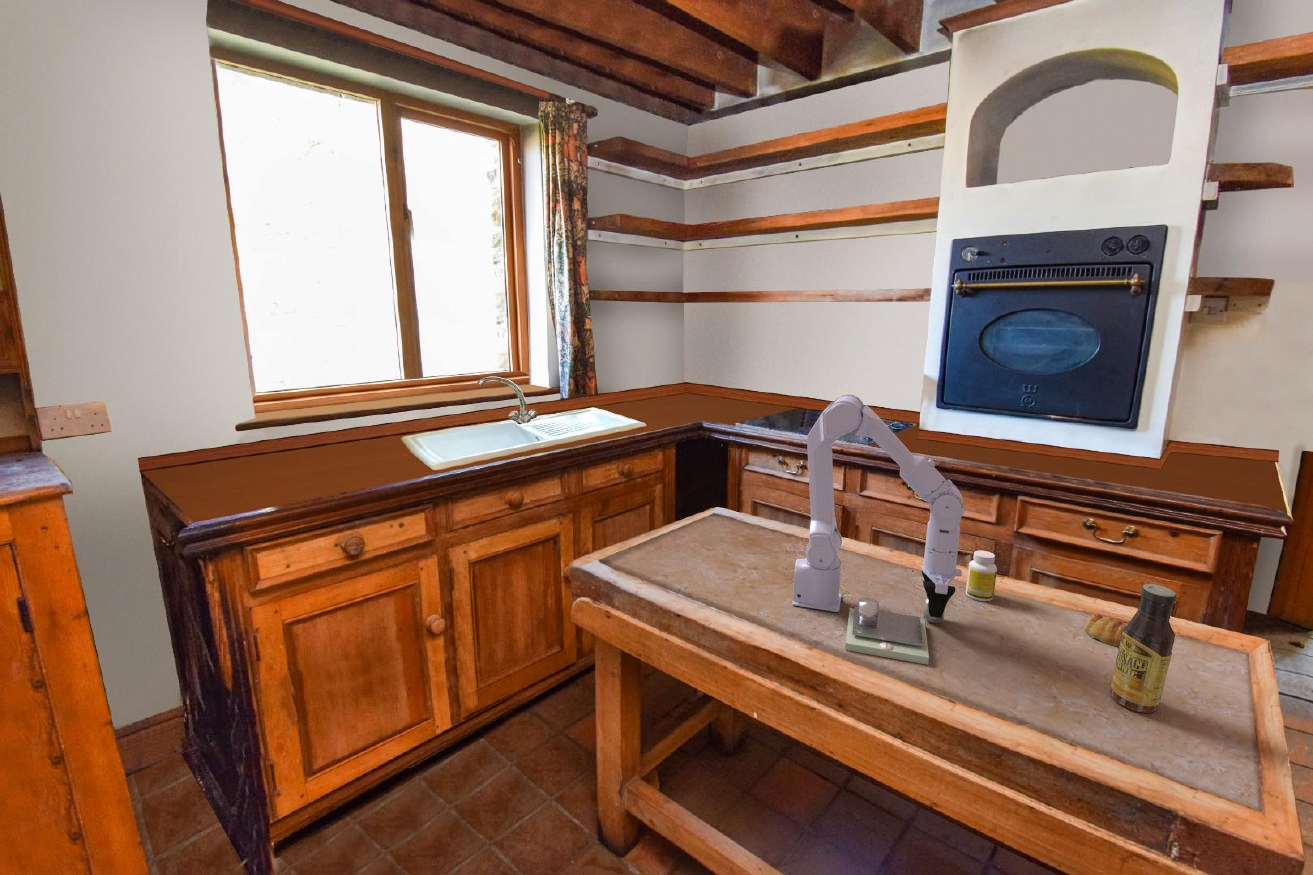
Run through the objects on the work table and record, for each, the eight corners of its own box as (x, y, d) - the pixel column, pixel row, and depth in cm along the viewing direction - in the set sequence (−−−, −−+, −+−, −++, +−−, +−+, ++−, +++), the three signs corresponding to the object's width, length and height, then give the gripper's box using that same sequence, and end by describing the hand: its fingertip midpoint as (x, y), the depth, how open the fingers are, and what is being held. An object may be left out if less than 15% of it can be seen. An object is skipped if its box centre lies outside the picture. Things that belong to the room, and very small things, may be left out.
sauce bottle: (1099, 691, 100) (1119, 579, 96) (1135, 689, 101) (1156, 577, 96) (1133, 718, 94) (1155, 598, 89) (1171, 715, 94) (1195, 597, 90)
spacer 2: (924, 620, 121) (926, 602, 120) (923, 612, 124) (925, 594, 123) (944, 624, 120) (946, 605, 119) (942, 615, 123) (944, 597, 122)
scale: (845, 649, 112) (845, 641, 112) (849, 613, 125) (849, 606, 125) (928, 664, 108) (929, 656, 107) (923, 625, 121) (924, 617, 120)
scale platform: (851, 639, 114) (852, 631, 114) (854, 613, 123) (854, 606, 123) (921, 651, 110) (922, 643, 110) (919, 624, 119) (919, 616, 119)
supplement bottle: (997, 603, 129) (1002, 560, 127) (969, 600, 130) (974, 557, 128) (988, 591, 135) (994, 549, 132) (962, 589, 136) (966, 547, 134)
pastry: (1153, 647, 113) (1156, 628, 113) (1137, 658, 110) (1141, 639, 109) (1095, 625, 121) (1098, 607, 120) (1079, 635, 117) (1082, 617, 117)
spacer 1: (857, 623, 116) (858, 604, 116) (857, 615, 120) (859, 596, 119) (877, 627, 115) (878, 607, 114) (877, 618, 119) (878, 599, 118)
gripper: (969, 565, 111) (960, 633, 114) (960, 536, 124) (952, 598, 127) (926, 559, 113) (919, 626, 116) (922, 532, 126) (916, 592, 129)
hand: (934, 611), depth 122 cm, fingers closed on spacer 2, 4 cm apart
